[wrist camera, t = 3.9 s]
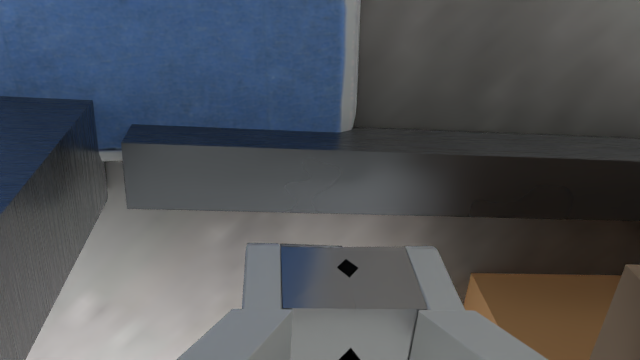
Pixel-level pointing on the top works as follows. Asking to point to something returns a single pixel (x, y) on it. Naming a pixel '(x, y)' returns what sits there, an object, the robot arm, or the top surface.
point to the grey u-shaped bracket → (272, 184)
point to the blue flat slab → (187, 62)
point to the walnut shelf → (621, 321)
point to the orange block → (545, 309)
